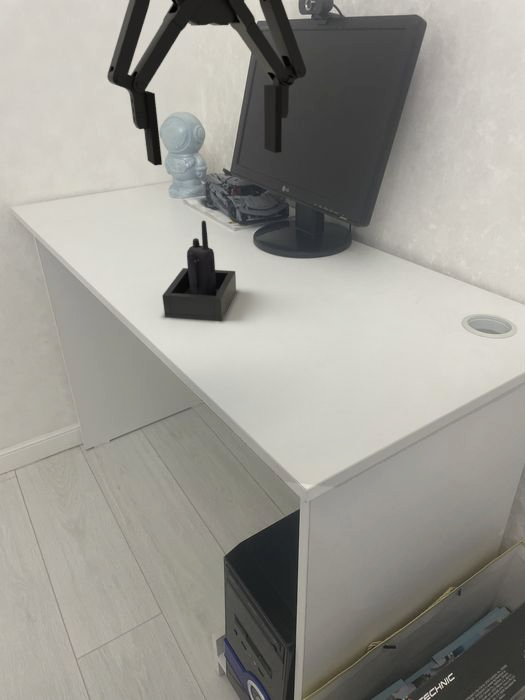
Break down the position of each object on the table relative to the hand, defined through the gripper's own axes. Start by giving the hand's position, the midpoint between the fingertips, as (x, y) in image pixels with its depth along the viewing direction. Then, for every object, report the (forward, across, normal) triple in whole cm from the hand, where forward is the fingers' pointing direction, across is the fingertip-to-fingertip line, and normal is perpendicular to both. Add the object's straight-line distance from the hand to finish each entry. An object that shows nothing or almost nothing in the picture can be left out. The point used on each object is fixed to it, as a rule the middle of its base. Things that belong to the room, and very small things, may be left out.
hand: (216, 156), depth 56 cm
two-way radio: (+31, +6, +28) cm, 43 cm away
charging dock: (+32, +6, +28) cm, 43 cm away
